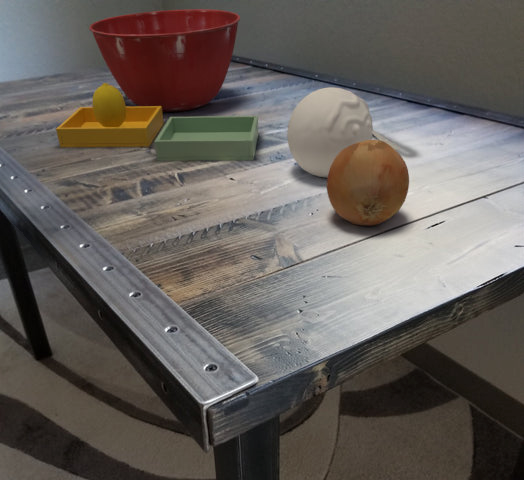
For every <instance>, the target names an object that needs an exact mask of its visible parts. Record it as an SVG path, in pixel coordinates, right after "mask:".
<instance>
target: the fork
mask: <svg viewBox="0 0 524 480" xmlns="http://www.w3.org/2000/svg"><path fill="white" fill-rule="evenodd" d="M372 136H374V137H375V138H376V140H380V141H384V142H386V143H387V144H389V145H390V146H391V147H392V148H393V149H395V150H400V149H401V147H400V146H399V145H397V144H396V143H394V142H393V141H391V140H389V139H388V138H385V137H384V136H383V135H381V134H379V133H378V132H377V131H375V130H374V129H373V131H372Z"/></svg>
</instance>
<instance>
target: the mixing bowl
mask: <svg viewBox="0 0 524 480" xmlns="http://www.w3.org/2000/svg"><path fill="white" fill-rule="evenodd" d="M240 20H241V16H240V15H239V14H237V13H236V12H232V11H228V10H221V9H206V8H205V9H204V8H203V9H201V8H199V9H197V8H196V9H195V8H193V9H191V8H190V9H169V10H167V9H166V10H154V11H145V12H138V13H128V14H123V15H117V16H111V17H107V18H104V19H100V20H97V21H95V22H92V23H91V24H90V25H89V27H88V28H89V31H90V32H91V33H92V35H93V37H94V41H95V43H96V45H97V48H98V49H99V52H100V54H101V56H102V59H103V60H104V62H105V65H106V66H107V68H108V70H109V72H110V73H111V75H112V76H113V78H114V80H115V82H116V83H117V85H118V87H120V89H121V91H122V92H123V93H124V94H125V96H126V97H127V99H128V100H130V101H131V102H132V103H133V104H134V105H136V106H162V113H172V112H173V113H175V112H176V113H177V112H185V111H190V110H191V111H192V110H195V109H199V108H202V107H204V106H206V105H207V104H209V103H210V102H211V101H212V100H213V99H215V98H216V96H218V94H219V92H220V91H221V89H222V87H223V84H224V82H225V80H226V77H227V74H228V71H229V68H230V65H231V61H232V58H233V53H234V49H235V45H236V39H237V32H238V26H239V23H240Z"/></svg>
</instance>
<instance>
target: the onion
mask: <svg viewBox="0 0 524 480" xmlns="http://www.w3.org/2000/svg"><path fill="white" fill-rule="evenodd" d="M409 173H410V172H409V169H408V165H407V163H406V161H405V159H404V158H403V157H402V155H401V154H400V153H399V152H398V151H397V149H393V148H392V147H391V146H390V145H389V144H387V143H386V142H384V141H380V140H379V139H372V140H366V141H361V142H358V143H355V144H352V145H350V146H348V147H346V148H345V149H343V150H342V151H341V152H340V153H339V154H338V155H337V156H336V158H335V159H334V161H333V163H332V165H331V167H330V170H329V174H328V178H326V192H327V195H328V200H329V203H330V205H331V207H332V208H333V210H334V211H335V212H336V213H337V215H338V216H339V217H341V218H342V219H344V220H345V221H347V222H349V223H351V224H352V225H359V226H367V227H370V226H377V225H380V224H382V223H384V222H386V221H387V220H389V219H391V218H392V217H393V216H395V215H396V214H397V213H398V212H399V211H400V209H402V207H403V205H404V203H405V202H406V199H407V196H408V192H409V188H410V174H409Z"/></svg>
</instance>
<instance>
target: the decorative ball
mask: <svg viewBox="0 0 524 480" xmlns="http://www.w3.org/2000/svg"><path fill="white" fill-rule="evenodd" d="M373 130H374V128H373V118H372V115H371V113H370V108H369V105H368V103H367V102H366V101H365V100H364V99H363V98H362V97H360V96H358V95H357V94H355V93H353V92H351V91H349V90H347V89H345V88H340V87H332V86H331V87H330V86H329V87H324V88H319V89H316V90H314V91H312V92H310V93H308V94H307V95H306V96H304V97H303V98H302V99H301V100H300V101H299V102H298V103H297V104H296V106H295V107H294V109H293V111H292V112H291V115H290V117H289V120H288V124H287V131H286V132H287V133H286V135H287V145H288V149H289V151H290V154H291V156H292V158H293V160H294V161H295V162H296V163H297V165H298V166H299V167H300V168H301V169H302V170H304V171H305V172H307V173H308V174H310V175H311V176H312V175H313V176H315V177H318V178H323V179H324V178H325V179H327V178H328V174H329V170H330V167H331V165H332V163H333V161H334V159H335V158H336V156H337V155H338V154H339V153H340V152H341V151H342V150H343V149H345V148H346V147H348V146H350V145H352V144H355V143H358V142H361V141H366V140H373V134H372V131H373Z"/></svg>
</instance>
